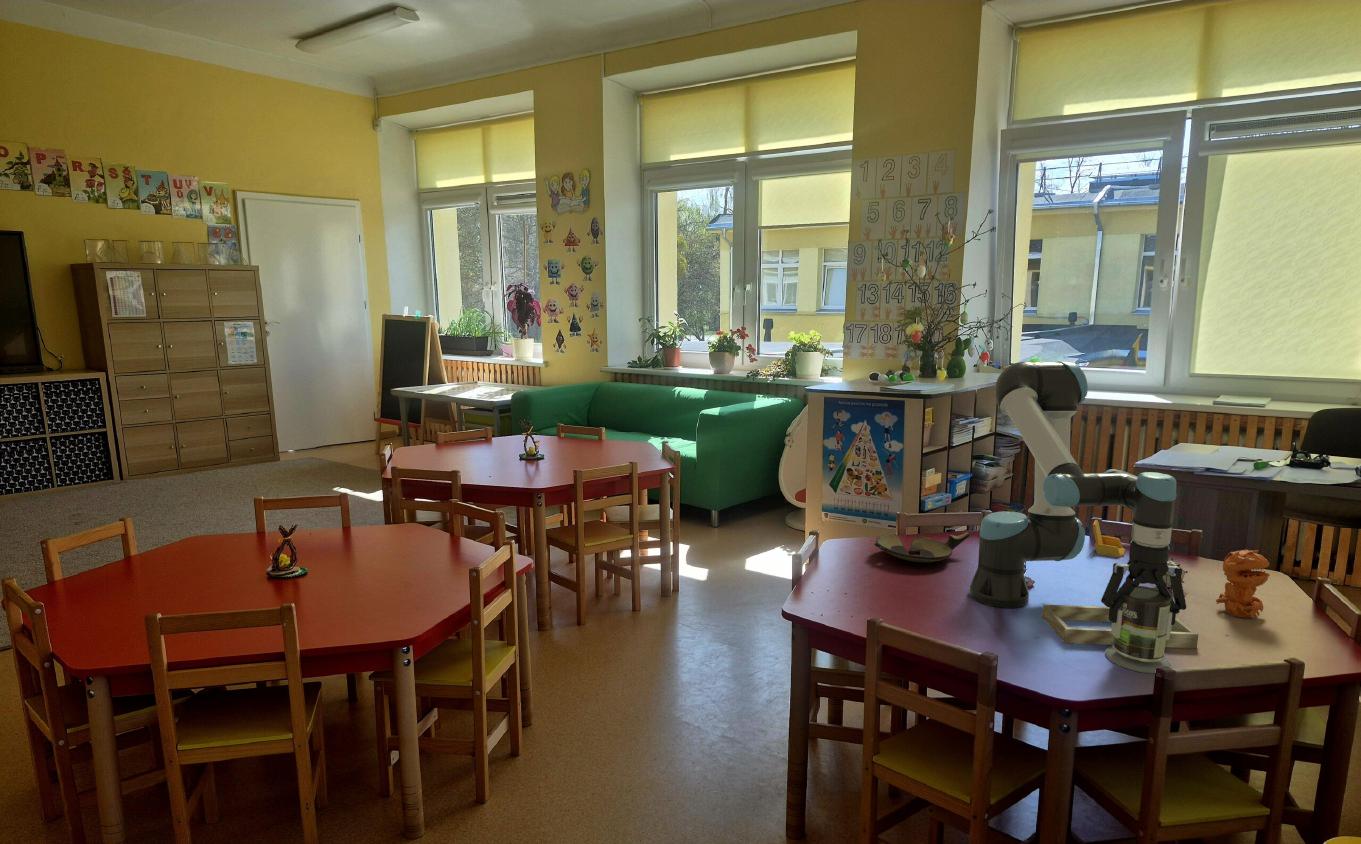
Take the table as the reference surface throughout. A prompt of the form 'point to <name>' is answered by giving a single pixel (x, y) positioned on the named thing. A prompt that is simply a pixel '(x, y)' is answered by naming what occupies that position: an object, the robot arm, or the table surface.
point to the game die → (1167, 576)
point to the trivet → (1134, 662)
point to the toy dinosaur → (1243, 583)
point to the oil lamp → (920, 547)
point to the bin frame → (1056, 613)
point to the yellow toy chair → (1107, 543)
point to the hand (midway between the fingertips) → (1139, 636)
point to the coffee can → (1143, 625)
